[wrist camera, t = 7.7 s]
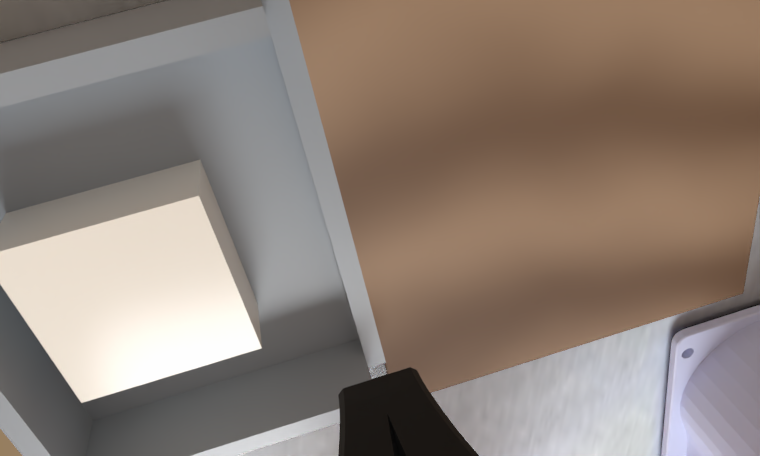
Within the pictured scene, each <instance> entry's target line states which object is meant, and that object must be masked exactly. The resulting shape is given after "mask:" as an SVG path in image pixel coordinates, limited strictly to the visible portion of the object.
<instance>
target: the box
mask: <svg viewBox="0 0 760 456" xmlns="http://www.w3.org/2000/svg"><path fill="white" fill-rule="evenodd" d="M197 160H201V163H202V165H203V168H204V170H205V173H206V175H207V178H208V180H209V183H210V185H211V188H212V190H213V193H214V195H215V198H216V200H217V203H218V205H219V208H220V210H221V213H222V215H223V218H224V221H225V223H226V226H227V228H228V231H229V233H230V236H231V238H232V241H233V243H234V246H235V248H236V251H237V253H238V256H239V258H240V261H241V263H242V266H243V268H244V271H245V273H246V276H247V278H248V281H249V283H250V286H251V288H252V291H253V293H254V296H255V298H256V301H257V303H258V312H259V323H260V333H261V343H262V348H261V349H258V350H254V351H251V352H248V353H245V354H241V355H238V356H235V357H231V358H228V359H225V360H222V361H218V362H215V363H212V364H208V365H205V366H202V367H198V368H195V369H192V370H189V371H185V372H182V373H179V374H175V375H172V376H169V377H166V378H162V379H159V380H156V381H152V382H149V383H146V384H143V385H139V386H136V387H133V388H129V389H126V390H123V391H120V392H116V393H113V394H110V395H106V396H103V397H100V398H97V399H93V400H90V401H87V402H83V403H81V402H80V400H79V399H78V397H77V396H76V394H75V393H74V391H73V390H72V388H71V387H70V385H69V384H68V383H67V381H66V380H65V378H64V377H63V375H62V374H61V372H60V371H59V369H58V368H57V366H56V365H55V364H54V362H53V361H52V359H51V358H50V356H49V355H48V353H47V352H46V350H45V349H44V347H43V346H42V345H41V343H40V342H39V340H38V339H37V337H36V336H35V334H34V333H33V331H32V330H31V328H30V327H29V325H28V324H27V323H26V321H25V320H24V318H23V317H22V315H21V314H20V312H19V311H18V309H17V308H16V306H15V305H14V304H13V302H12V301H11V299H10V298H9V296H8V295H7V293H6V292H5V290H4V289H3V287H2V286H1V285H0V429H1V430H2V431H3V432H4V434H5V435H6V436H7V437H8V438H9V440H10V441H11V442H12V443H13V444H14V445H15V447H16V448H17V449H18V451H19V452H20V453H21V454H22V455H23V456H238V455H241V454H244V453H248V452H251V451H254V450H257V449H260V448H263V447H266V446H270V445H273V444H276V443H279V442H282V441H285V440H288V439H292V438H295V437H298V436H301V435H304V434H307V433H310V432H314V431H317V430H320V429H323V428H326V427H329V426H332V425H336V424H339V423H340V409H339V398H338V394H339V393H340V392H341V390H342V389H343V388H346V387H349V386H352V385H355V384H358V383H362V382H365V381H368V380H371V376H370V372H369V369H368V368H371V367H374V366H377V365H380V364H384V363H386V361H385V357H384V353H383V350H382V346H381V342H380V339H379V335H378V331H377V327H376V324H375V320H374V316H373V312H372V309H371V305H370V301H369V297H368V294H367V290H366V286H365V282H364V279H363V275H362V271H361V268H360V264H359V260H358V256H357V253H356V249H355V245H354V241H353V238H352V234H351V230H350V226H349V223H348V219H347V215H346V211H345V208H344V204H343V200H342V196H341V193H340V189H339V185H338V182H337V178H336V174H335V170H334V167H333V163H332V159H331V155H330V152H329V148H328V144H327V140H326V137H325V133H324V129H323V125H322V122H321V118H320V114H319V111H318V107H317V103H316V99H315V96H314V92H313V88H312V84H311V81H310V77H309V73H308V69H307V66H306V62H305V58H304V54H303V51H302V47H301V43H300V39H299V36H298V32H297V28H296V25H295V21H294V17H293V13H292V10H291V6H290V2H289V0H167V1H163V2H159V3H155V4H151V5H147V6H143V7H139V8H135V9H131V10H127V11H123V12H120V13H116V14H112V15H108V16H104V17H100V18H96V19H92V20H88V21H84V22H80V23H76V24H72V25H69V26H65V27H61V28H57V29H53V30H49V31H45V32H41V33H37V34H33V35H29V36H25V37H21V38H17V39H14V40H10V41H6V42H2V43H0V223H1V221H2V219H3V217H4V215H5V214H6V213H8V212H12V211H16V210H19V209H23V208H26V207H30V206H34V205H37V204H41V203H45V202H48V201H52V200H55V199H59V198H63V197H66V196H70V195H74V194H77V193H81V192H84V191H88V190H92V189H95V188H99V187H103V186H106V185H110V184H113V183H117V182H121V181H124V180H128V179H132V178H135V177H139V176H142V175H146V174H150V173H153V172H157V171H160V170H164V169H168V168H171V167H175V166H179V165H182V164H186V163H189V162H193V161H197Z"/></svg>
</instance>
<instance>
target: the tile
mask: <svg viewBox="0 0 760 456" xmlns="http://www.w3.org/2000/svg"><path fill="white" fill-rule="evenodd" d="M0 285H1V286H2V287H3V289H4V290H5V292H6V293H7V295H8V296H9V298H10V299H11V301H12V302H13V304H14V305H15V306H16V308H17V309H18V311H19V312H20V314H21V315H22V317H23V318H24V320H25V321H26V323H27V324H28V325H29V327H30V328H31V330H32V331H33V333H34V334H35V336H36V337H37V339H38V340H39V342H40V343H41V345H42V346H43V347H44V349H45V350H46V352H47V353H48V355H49V356H50V358H51V359H52V361H53V362H54V364H55V365H56V366H57V368H58V369H59V371H60V372H61V374H62V375H63V377H64V378H65V380H66V381H67V383H68V384H69V385H70V387H71V388H72V390H73V391H74V393H75V394H76V396H77V397H78V399H79V400H80V402H81V403H83V402H87V401H90V400H93V399H97V398H100V397H103V396H106V395H110V394H113V393H116V392H120V391H123V390H126V389H129V388H133V387H136V386H139V385H143V384H146V383H149V382H152V381H156V380H159V379H162V378H166V377H169V376H172V375H175V374H179V373H182V372H185V371H189V370H192V369H195V368H198V367H202V366H205V365H208V364H212V363H215V362H218V361H222V360H225V359H228V358H231V357H235V356H238V355H241V354H245V353H248V352H251V351H254V350H258V349H261V348H262V343H261V333H260V323H259V312H258V303H257V301H256V298H255V296H254V293H253V291H252V288H251V286H250V283H249V281H248V278H247V276H246V273H245V271H244V268H243V266H242V263H241V261H240V258H239V256H238V253H237V251H236V248H235V246H234V243H233V241H232V238H231V236H230V233H229V231H228V228H227V226H226V223H225V221H224V218H223V215H222V213H221V210H220V208H219V205H218V203H217V200H216V198H215V195H214V193H213V190H212V188H211V185H210V183H209V180H208V178H207V175H206V173H205V170H204V168H203V165H202V163H201V160H197V161H193V162H189V163H186V164H182V165H179V166H175V167H171V168H168V169H164V170H160V171H157V172H153V173H150V174H146V175H142V176H139V177H135V178H132V179H128V180H124V181H121V182H117V183H113V184H110V185H106V186H103V187H99V188H95V189H92V190H88V191H84V192H81V193H77V194H74V195H70V196H66V197H63V198H59V199H55V200H52V201H48V202H45V203H41V204H37V205H34V206H30V207H26V208H23V209H19V210H16V211H12V212H8V213H6V214H5V215H4V217H3V219H2V221H1V223H0Z"/></svg>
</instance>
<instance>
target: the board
mask: <svg viewBox="0 0 760 456" xmlns="http://www.w3.org/2000/svg"><path fill="white" fill-rule="evenodd" d="M289 2H290V6H291V10H292V13H293V17H294V21H295V25H296V28H297V32H298V36H299V39H300V43H301V47H302V51H303V54H304V58H305V62H306V66H307V69H308V73H309V77H310V81H311V84H312V88H313V92H314V96H315V99H316V103H317V107H318V111H319V114H320V118H321V122H322V125H323V129H324V133H325V137H326V140H327V144H328V148H329V152H330V155H331V159H332V163H333V167H334V170H335V174H336V178H337V182H338V185H339V189H340V193H341V196H342V200H343V204H344V208H345V211H346V215H347V219H348V223H349V226H350V230H351V234H352V238H353V241H354V245H355V249H356V253H357V256H358V260H359V264H360V268H361V271H362V275H363V279H364V282H365V286H366V290H367V294H368V297H369V301H370V305H371V309H372V312H373V316H374V320H375V324H376V327H377V331H378V335H379V339H380V342H381V346H382V350H383V353H384V357H385V361H386V363H385V367H386V370H387V374H390V373H393V372H396V371H400V370H403V369H406V368H409V367H411V368H413V369H416V370H417V371H418V373H419V375H420V377H421V379H422V380H423V382H424V384H425V385H426V387H427V389H428V390H429V392H430V393H431V392H435V391H438V390H441V389H444V388H447V387H450V386H453V385H457V384H460V383H463V382H466V381H469V380H472V379H476V378H479V377H482V376H485V375H488V374H491V373H494V372H498V371H501V370H504V369H507V368H510V367H513V366H516V365H520V364H523V363H526V362H529V361H532V360H535V359H538V358H542V357H545V356H548V355H551V354H554V353H557V352H560V351H564V350H567V349H570V348H573V347H576V346H579V345H582V344H586V343H589V342H592V341H595V340H598V339H601V338H604V337H608V336H611V335H614V334H617V333H620V332H623V331H626V330H630V329H633V328H636V327H639V326H642V325H645V324H648V323H652V322H655V321H658V320H661V319H664V318H667V317H670V316H674V315H677V314H680V313H683V312H686V311H689V310H692V309H696V308H699V307H702V306H705V305H708V304H711V303H714V302H718V301H721V300H724V299H727V298H730V297H733V296H736V295H740V294H743V292H744V286H745V280H746V274H747V268H748V262H749V256H750V250H751V244H752V238H753V232H754V226H755V220H756V214H757V208H758V202H759V196H760V0H289Z"/></svg>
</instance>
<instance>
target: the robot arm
mask: <svg viewBox="0 0 760 456" xmlns="http://www.w3.org/2000/svg"><path fill="white" fill-rule="evenodd" d="M338 398H339V409H340V441H339V456H479V455H478V454H477V453H476V452H475V451H474V449H473V448H472V447H471V446H470V445H469V444H468V442H467V441H466V440H465V439H464V438H463V437H462V435H461V434H460V433H459V432H458V430H457V429H456V428H455V427H454V425H453V424H452V423H451V421H450V420H449V419H448V417H447V416H446V415H445V413H444V412H443V411H442V409H441V408H440V407H439V405H438V404H437V402H436V401H435V399H434V398H433V396H432V395H431V393H430V392H429V390H428V389H427V387H426V385H425V384H424V382H423V380H422V379H421V377H420V375H419V373H418V371H417V370H416V369H413V368H411V367H409V368H406V369H403V370H400V371H396V372H393V373H390V374H387V375H384V376H381V377H377V378H374V379H371V380H368V381H365V382H362V383H358V384H355V385H352V386H349V387H346V388H343V389H342V390H341V392H340V393H339V394H338ZM661 456H760V305H757V306H754V307H751V308H748V309H745V310H741V311H738V312H735V313H732V314H729V315H726V316H723V317H720V318H716V319H713V320H710V321H707V322H704V323H701V324H698V325H695V326H692V327H688V328H685V329H682V330H680V331H679V332H677V333H676V334H675V335H674V337H673V339H672V342H671V352H670V363H669V374H668V386H667V397H666V408H665V419H664V430H663V442H662V453H661Z"/></svg>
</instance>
